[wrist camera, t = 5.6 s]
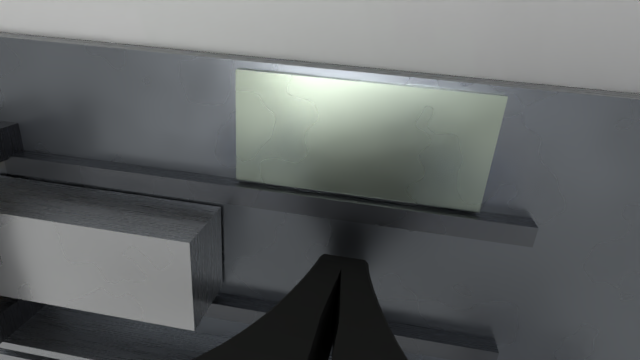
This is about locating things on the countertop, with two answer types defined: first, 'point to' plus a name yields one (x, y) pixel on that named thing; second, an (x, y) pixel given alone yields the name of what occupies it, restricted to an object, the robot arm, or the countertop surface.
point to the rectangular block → (109, 252)
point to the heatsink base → (343, 194)
